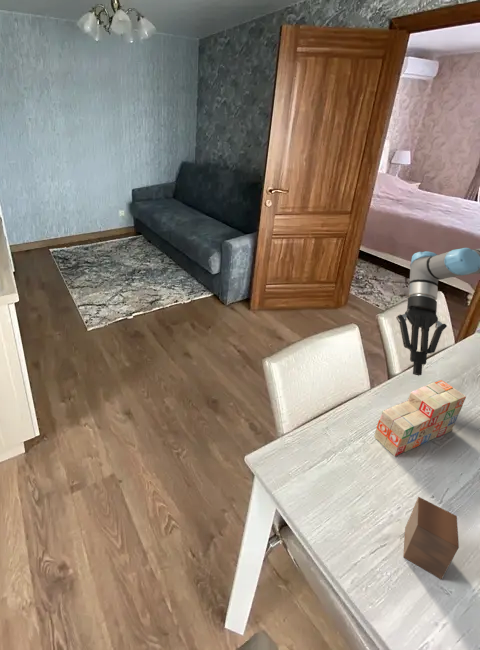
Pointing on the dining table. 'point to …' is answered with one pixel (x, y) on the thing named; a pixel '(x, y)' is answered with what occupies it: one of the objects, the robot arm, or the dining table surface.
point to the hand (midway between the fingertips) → (417, 374)
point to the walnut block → (431, 537)
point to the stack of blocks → (419, 417)
